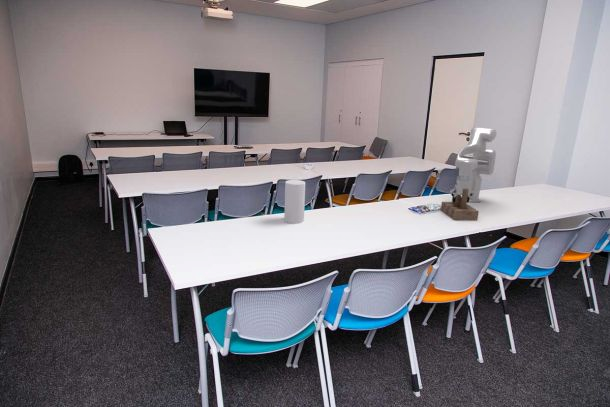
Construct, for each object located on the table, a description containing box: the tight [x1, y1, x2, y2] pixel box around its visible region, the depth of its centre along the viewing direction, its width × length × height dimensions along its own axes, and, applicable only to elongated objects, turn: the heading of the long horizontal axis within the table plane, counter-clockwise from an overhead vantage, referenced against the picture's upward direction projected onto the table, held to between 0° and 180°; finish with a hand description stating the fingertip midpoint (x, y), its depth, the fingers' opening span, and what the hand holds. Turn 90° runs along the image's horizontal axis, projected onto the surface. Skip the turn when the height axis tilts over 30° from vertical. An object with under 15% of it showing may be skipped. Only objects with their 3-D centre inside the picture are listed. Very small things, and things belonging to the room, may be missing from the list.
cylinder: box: [283, 179, 306, 225], centre depth 251 cm, size 12×12×25 cm
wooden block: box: [453, 189, 469, 209], centre depth 276 cm, size 4×11×18 cm, turn 18°
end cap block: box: [440, 201, 480, 221], centre depth 278 cm, size 22×16×6 cm
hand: (460, 202), depth 276 cm, fingers open, 9 cm apart
